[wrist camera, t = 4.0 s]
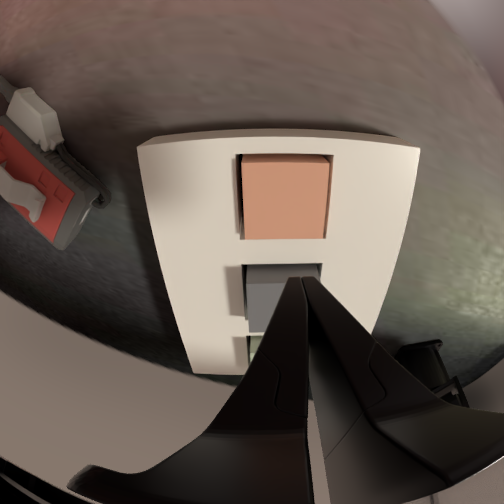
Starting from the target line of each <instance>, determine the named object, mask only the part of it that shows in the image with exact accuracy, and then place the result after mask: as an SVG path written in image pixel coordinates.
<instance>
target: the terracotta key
mask: <svg viewBox="0 0 504 504" xmlns="http://www.w3.org/2000/svg"><path fill="white" fill-rule="evenodd" d="M241 164H242V186H243V208H244V229H245V240H249V239H323V232H324V222H325V213H326V202H327V191H328V178H329V164H330V163H329V162H328V161H327V160H326V159H325V158H324V157H323V156H322V154H300V153H256V154H243V158H242V163H241Z"/></svg>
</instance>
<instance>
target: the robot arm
mask: <svg viewBox="0 0 504 504" xmlns="http://www.w3.org/2000/svg"><path fill="white" fill-rule="evenodd" d="M442 345H443V342H442V341H441V340H439V341H434V342H429V343H424V344H418V345H413V346H407V347H403V348H401V349H400V350H399V352H398V354H397V356H396V358H395V359H394V358H393V357H392V356H391V355H390V354H389V353H388V352H387V351H386V350H385V349H384V348H383V347H382V346H381V345H380V343H379V342H376V339H375V338H374V337H373V336H372V335H371V334H370V333H369V332H368V331H367V330H366V329H365V328H364V327H363V326H362V325H361V324H360V323H359V322H358V320H357V319H356V318H355V317H354V316H353V315H352V314H351V313H350V312H349V311H348V310H347V309H346V308H345V307H344V306H343V305H342V304H341V303H340V302H339V301H338V300H337V299H336V298H335V297H334V296H333V295H332V294H331V293H330V292H329V291H328V290H327V289H326V288H325V287H324V286H323V284H322V283H321V282H320V281H319V280H318V279H317V278H316V277H314V276H303V277H302V278H301V277H300V276H291V277H288V278H287V280H286V283H285V285H284V288H283V290H282V293H281V295H280V297H279V300H278V302H277V304H276V307H275V309H274V311H273V314H272V316H271V318H270V321H269V323H268V325H267V328H266V330H265V332H264V335H263V337H262V339H261V341H260V344H259V346H258V348H257V350H256V352H255V354H254V357H253V359H252V361H251V363H250V365H249V367H248V369H247V371H246V373H245V374H244V376H243V378H242V379H241V381H240V382H239V384H238V386H237V387H236V389H235V390H234V392H233V393H232V395H231V396H230V398H229V399H228V400H227V402H226V403H225V405H224V406H223V407H222V409H221V410H220V412H219V413H218V414H217V416H216V417H215V419H214V420H213V421H212V422H211V424H210V425H209V426H208V427H207V429H206V430H205V431H204V432H203V433H202V434H201V435H200V436H198V437H197V438H196V439H194V440H193V441H192V442H190V443H189V444H187V445H186V446H184V447H183V448H182V449H180V450H178V451H177V452H175V453H174V454H172V455H171V456H169V457H168V458H166V459H165V460H163V461H162V462H160V463H159V464H157V465H155V466H154V467H152V468H150V469H148V470H146V471H143V472H140V473H133V474H126V473H120V472H117V471H113V470H110V469H106V468H103V467H100V466H96V465H87V466H86V467H85V468H83V469H82V470H81V471H79V472H78V473H77V474H76V475H74V477H73V478H72V479H71V480H70V481H69V483H68V484H67V488H68V489H70V490H71V491H73V492H75V493H78V494H80V495H82V496H84V497H87V498H89V499H91V500H94V501H97V502H99V503H102V504H315V503H314V493H313V483H312V474H311V464H310V456H309V448H308V439H307V422H308V421H307V418H308V386H309V379H310V384H311V390H312V395H313V400H314V406H315V411H316V416H317V422H318V428H319V433H320V439H321V445H322V451H323V457H324V463H325V470H326V476H327V482H328V488H329V495H330V502H331V504H504V413H497V412H490V411H484V410H478V409H472V408H470V407H469V405H468V402H467V399H466V397H465V394H464V392H463V390H462V387H461V385H460V383H459V380H458V378H457V376H454V377H453V378H452V379H451V380H450V378H449V375H448V373H447V371H446V368H445V366H444V364H443V361H442V359H441V357H440V355H439V353H438V351H439V349H440V348H441V346H442ZM456 392H457V393H458V394H455V393H456ZM453 394H455V395H453ZM0 504H95V503H92V502H89V501H87V500H84V499H82V498H80V497H78V496H75V495H73V494H71V493H69V492H66V491H64V490H63V489H60V488H58V487H56V486H54V485H53V484H51V483H49V482H47V481H45V480H43V479H41V478H39V477H37V476H36V475H33V474H32V473H30V472H28V471H26V470H25V469H23V468H21V467H19V466H17V465H16V464H14V463H12V462H10V461H9V460H7V459H5V458H4V457H2V456H0Z"/></svg>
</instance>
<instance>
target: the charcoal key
mask: <svg viewBox="0 0 504 504" xmlns="http://www.w3.org/2000/svg"><path fill="white" fill-rule="evenodd" d="M291 276H300V277H301V278H302V277H303V276H314V277H316V278H317V279H318V280H319V281H320V277H319V273H318V270H317V266H316V263H295V264H247V279H246V288H247V306H248V324H249V333H258V332H265V330H266V328H267V325H268V323H269V321H270V318H271V316H272V314H273V311H274V309H275V307H276V304H277V302H278V300H279V297H280V295H281V293H282V290H283V288H284V285H285V283H286V280H287V278H288V277H291ZM320 282H321V281H320Z"/></svg>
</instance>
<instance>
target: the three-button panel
mask: <svg viewBox="0 0 504 504" xmlns="http://www.w3.org/2000/svg"><path fill="white" fill-rule="evenodd" d="M137 153H138V160H139V166H140V172H141V178H142V183H143V189H144V194H145V199H146V204H147V209H148V214H149V219H150V223H151V228H152V232H153V237H154V241H155V245H156V250H157V254H158V258H159V262H160V266H161V269H162V273H163V277H164V281H165V284H166V288H167V292H168V295H169V299H170V302H171V306H172V309H173V312H174V316H175V319H176V322H177V325H178V328H179V332H180V335H181V338H182V341H183V344H184V347H185V350H186V353H187V356H188V358H189V361H190V364H191V367H192V370H193V373H203V374H227V375H244V374H245V373H246V371H247V369H248V367H249V365H250V363H251V358H250V345H249V336H258V335H264V332H258V333H249V324H248V306H247V294H246V279H245V264H295V263H316V266H317V270H318V273H319V277H320V281H321V283H322V284H323V286H324V287H325V288H326V289H327V290H328V291H329V292H330V293H331V294H332V295H333V296H334V297H335V298H336V299H337V300H338V301H339V302H340V303H341V304H342V305H343V306H344V307H345V308H346V309H347V310H348V311H349V312H350V313H351V314H352V315H353V316H354V317H355V318H356V319H357V320H358V322H359V323H360V324H361V325H362V326H363V327H364V328H365V329H366V330H367V331H368V332H369V333H370V334H371V333H372V330H373V328H374V325H375V323H376V320H377V317H378V315H379V312H380V309H381V307H382V304H383V301H384V298H385V295H386V292H387V289H388V286H389V283H390V280H391V277H392V274H393V271H394V267H395V264H396V260H397V257H398V254H399V250H400V246H401V243H402V239H403V235H404V231H405V227H406V223H407V219H408V214H409V210H410V205H411V200H412V195H413V190H414V185H415V179H416V174H417V168H418V161H419V154H420V148H419V147H417V146H415V145H413V144H411V143H409V142H407V141H405V140H403V139H401V138H398V137H392V136H384V135H376V134H367V133H358V132H346V131H333V130H315V129H233V130H216V131H202V132H191V133H181V134H172V135H164V136H156V137H153V138H151V139H149V140H148V141H146V142H144V143H142V144H141V145H139V146H137ZM256 153H300V154H322V156H323V157H324V158H325V159H326V160H327V161H328V162H329V163H330V164H329V178H328V191H327V202H326V213H325V222H324V232H323V239H249V240H245V229H244V217H242V204H241V183H240V163H239V154H256Z"/></svg>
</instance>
